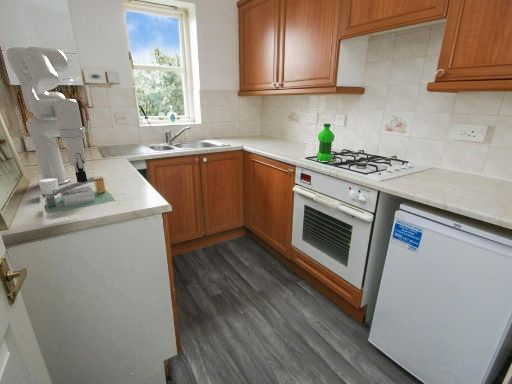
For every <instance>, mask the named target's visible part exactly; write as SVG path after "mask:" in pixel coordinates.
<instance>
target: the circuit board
mask: <svg viewBox="0 0 512 384" xmlns="http://www.w3.org/2000/svg"><path fill="white" fill-rule="evenodd" d="M105 191H106V192H102V193H97V192H96V190H93V193H94V197H95V201H94V202H89V203H83V204H78V205H73V206H68V207H65V205H64V202H63V200H62V196H59V197H54V198H55V202H56V206H57V207H51V208H48V204H47V201H46V199H44V201H45V207H46V212H47V215H51V214H55V213H59V212H65V211H69V210H77V209H79V208H87V207H90V206H96V205H100V204H106V203H110V202H116V199H115V198H114V197H113V196H112V194H110V192H109V191H108V190H107V189H106V188H105Z"/></svg>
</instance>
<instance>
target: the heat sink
mask: <svg viewBox="0 0 512 384" xmlns="http://www.w3.org/2000/svg"><path fill="white" fill-rule="evenodd" d="M93 191H94V190H93V189H92V187H91V186H90V185H87V186H83V187H81V186H80V187H75V188H73V189H70V190H67V191H64V192H62V193H60V195H61V196H60V197H62V200H63V202H64V205H65V207H68V206H73V205H78V204H83V203H89V202H94V201H95V197H94V193H93ZM44 195H45V196H44V197H45V200H46V201H47V204H48V208H51V207H57V206H56V202H55V198H56V197H55V195H53V194H44Z"/></svg>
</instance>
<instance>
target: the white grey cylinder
mask: <svg viewBox="0 0 512 384" xmlns="http://www.w3.org/2000/svg"><path fill="white" fill-rule="evenodd" d="M37 183H38V185H39V189H40V191H41V194H42V195H48V194H53V192H52V191H53V190H57V189H60V188H59V185H58V180H57V178H47V179H42V178H41V179H38V181H37Z"/></svg>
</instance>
